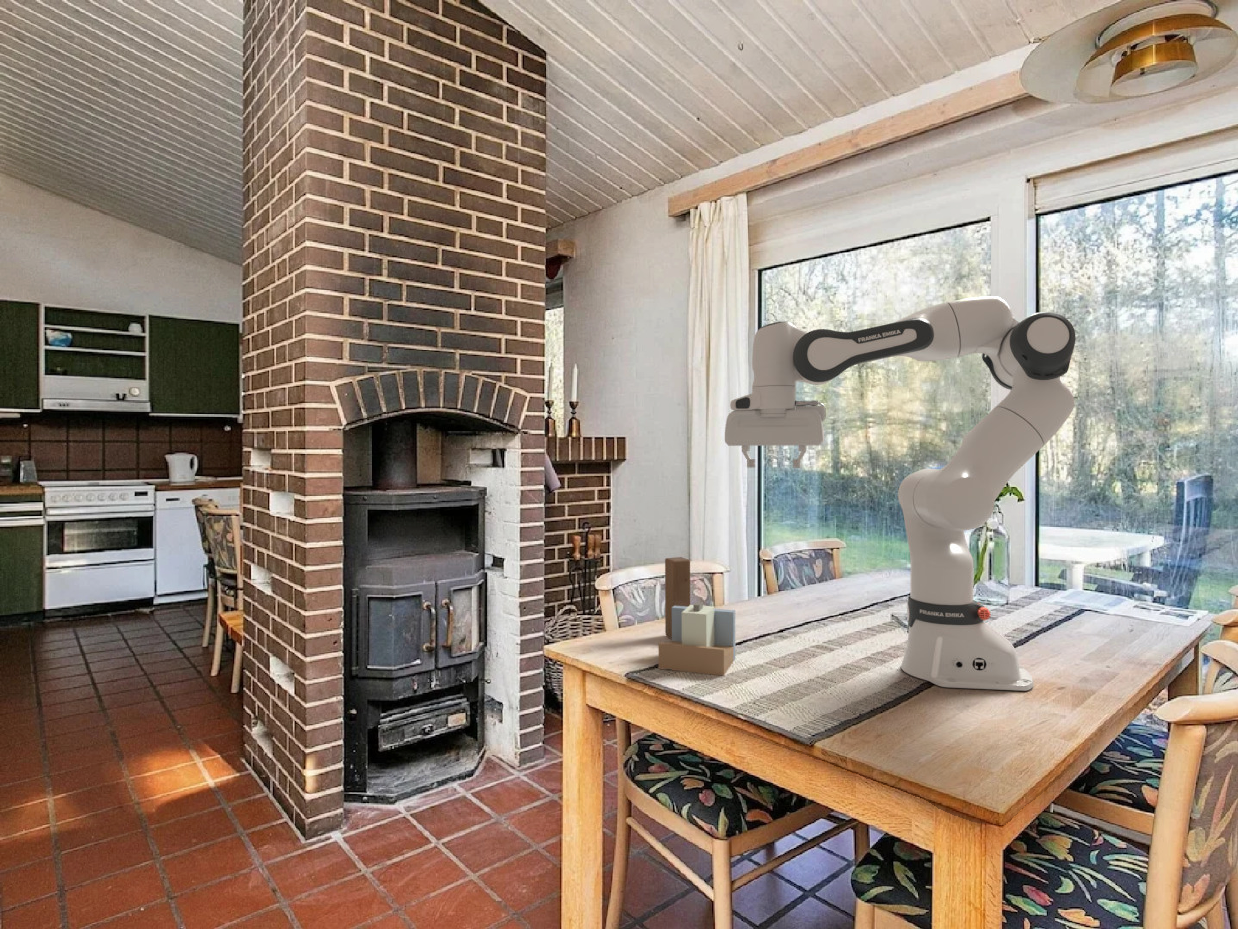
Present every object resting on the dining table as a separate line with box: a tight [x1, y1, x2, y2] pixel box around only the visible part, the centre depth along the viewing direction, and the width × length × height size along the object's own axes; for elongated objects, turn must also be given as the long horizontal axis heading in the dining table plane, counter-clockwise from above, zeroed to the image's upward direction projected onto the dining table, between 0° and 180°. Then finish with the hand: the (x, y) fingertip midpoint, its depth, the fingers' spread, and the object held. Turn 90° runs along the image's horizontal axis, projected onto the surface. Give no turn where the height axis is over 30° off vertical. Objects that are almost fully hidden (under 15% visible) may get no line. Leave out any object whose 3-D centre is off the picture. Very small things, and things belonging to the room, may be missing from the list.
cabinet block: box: [682, 601, 715, 647], centre depth 145 cm, size 5×7×9 cm
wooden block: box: [664, 556, 692, 640], centre depth 162 cm, size 9×4×18 cm, turn 21°
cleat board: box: [658, 606, 736, 677], centre depth 145 cm, size 13×12×10 cm
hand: (773, 467), depth 150 cm, fingers open, 8 cm apart
